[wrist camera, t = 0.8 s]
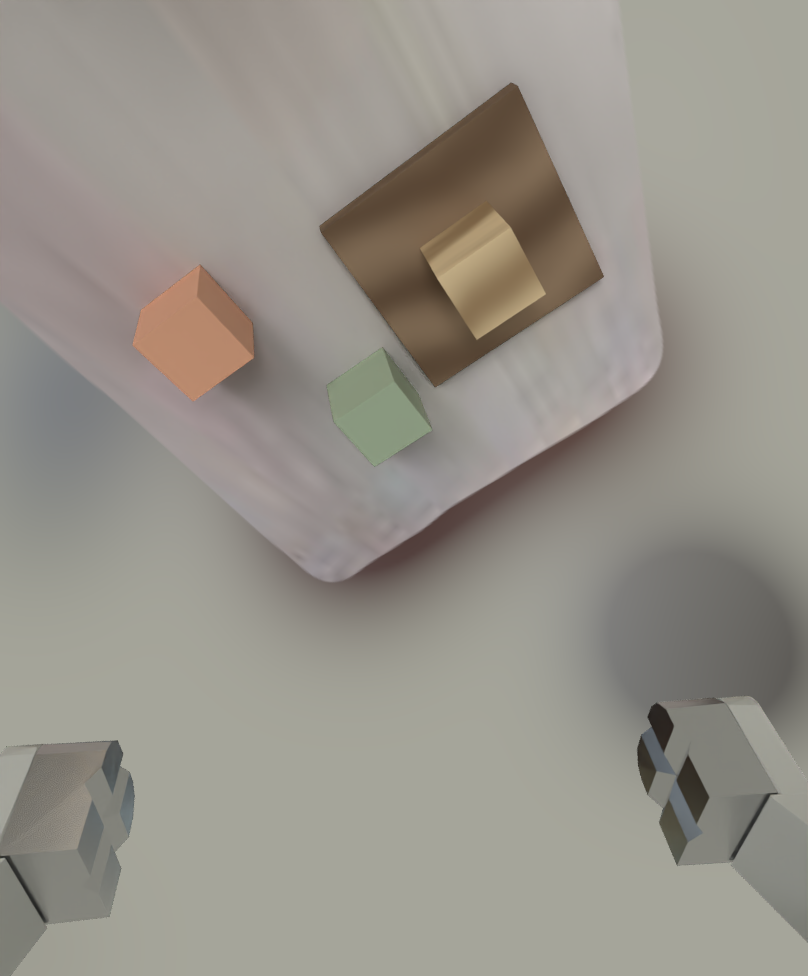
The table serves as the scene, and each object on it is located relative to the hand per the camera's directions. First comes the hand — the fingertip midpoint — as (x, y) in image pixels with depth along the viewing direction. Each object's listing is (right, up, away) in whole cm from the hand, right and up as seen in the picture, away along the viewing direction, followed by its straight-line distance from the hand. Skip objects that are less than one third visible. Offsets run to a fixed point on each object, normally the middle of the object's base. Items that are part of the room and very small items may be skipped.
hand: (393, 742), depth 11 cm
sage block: (-2, +11, +41) cm, 43 cm away
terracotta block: (-13, +15, +35) cm, 40 cm away
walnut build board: (+4, +20, +35) cm, 41 cm away
